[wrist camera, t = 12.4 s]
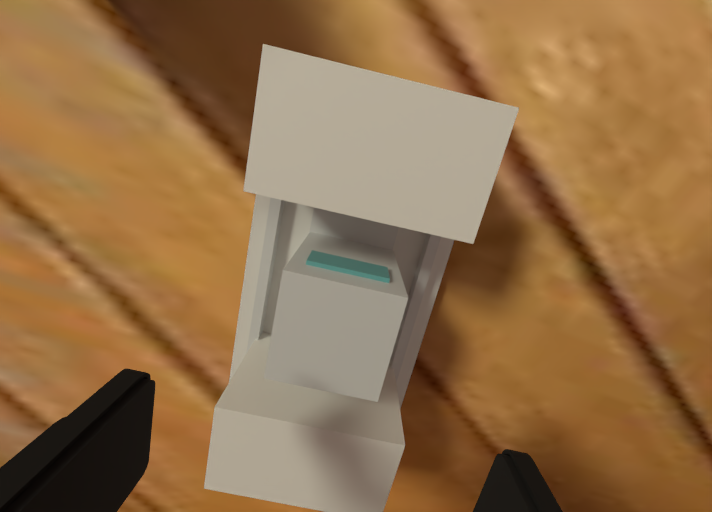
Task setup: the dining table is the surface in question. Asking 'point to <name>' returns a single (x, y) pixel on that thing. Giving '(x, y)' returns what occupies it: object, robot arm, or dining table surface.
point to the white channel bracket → (353, 223)
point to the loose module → (337, 317)
